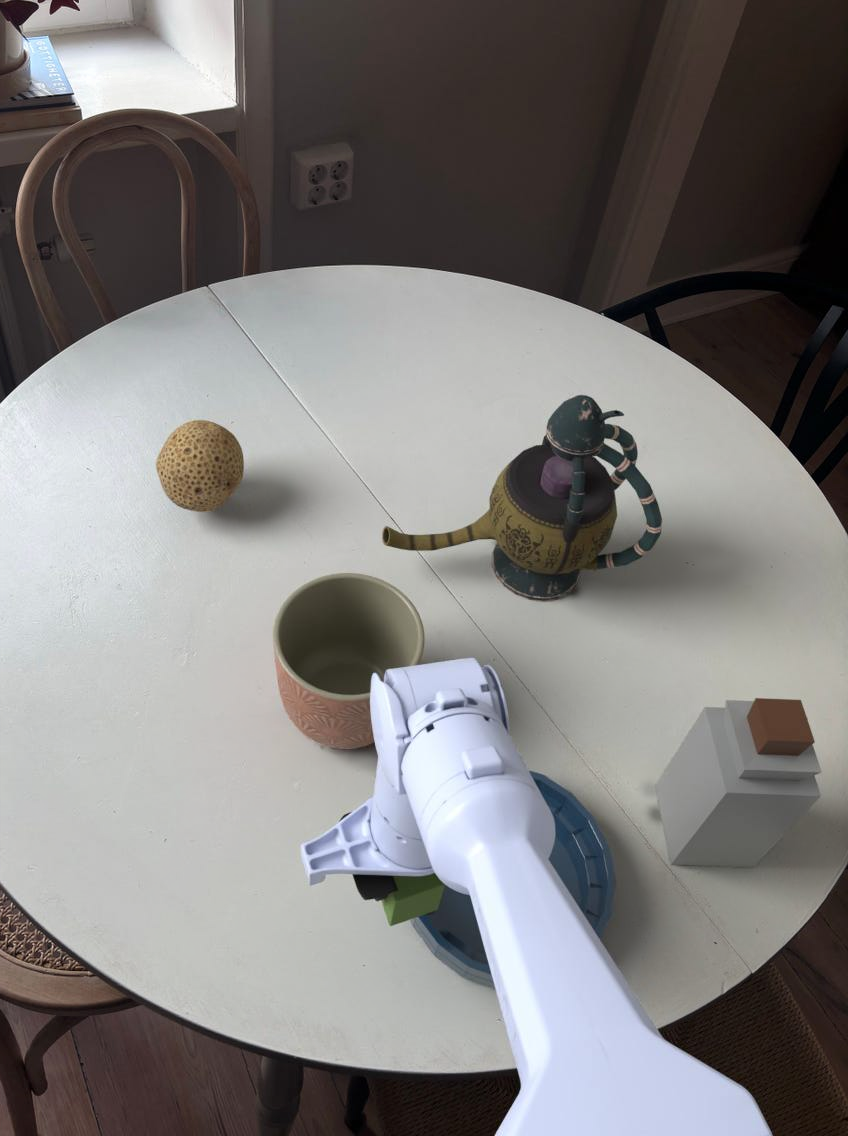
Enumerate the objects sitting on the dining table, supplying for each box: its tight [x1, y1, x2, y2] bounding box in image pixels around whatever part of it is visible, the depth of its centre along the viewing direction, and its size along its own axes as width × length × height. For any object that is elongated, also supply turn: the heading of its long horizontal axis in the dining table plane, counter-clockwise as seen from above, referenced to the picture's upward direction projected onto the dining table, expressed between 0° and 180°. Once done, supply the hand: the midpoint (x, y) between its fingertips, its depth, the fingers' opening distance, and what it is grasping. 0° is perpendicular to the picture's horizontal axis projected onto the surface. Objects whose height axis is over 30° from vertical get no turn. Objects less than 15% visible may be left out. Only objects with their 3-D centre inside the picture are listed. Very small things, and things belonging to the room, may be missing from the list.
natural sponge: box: [155, 419, 245, 513], centre depth 96 cm, size 9×9×10 cm
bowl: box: [409, 770, 617, 990], centre depth 73 cm, size 16×16×4 cm
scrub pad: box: [380, 873, 445, 927], centre depth 65 cm, size 5×4×5 cm
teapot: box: [381, 394, 663, 602], centre depth 87 cm, size 12×25×23 cm, turn 94°
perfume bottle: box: [654, 697, 823, 868], centre depth 71 cm, size 7×7×18 cm
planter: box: [272, 572, 426, 750], centre depth 80 cm, size 12×12×11 cm
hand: (403, 876), depth 66 cm, fingers closed on scrub pad, 3 cm apart
